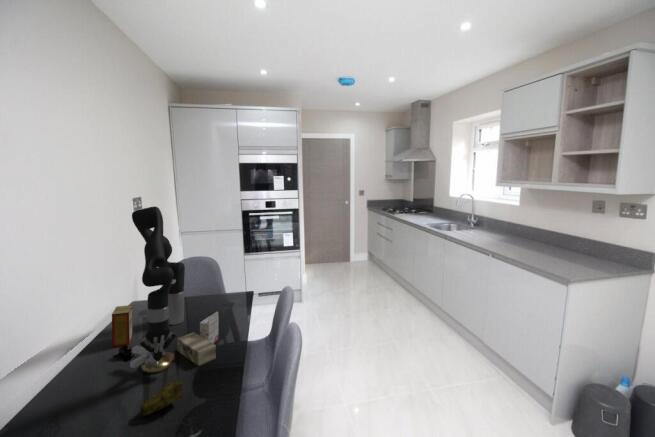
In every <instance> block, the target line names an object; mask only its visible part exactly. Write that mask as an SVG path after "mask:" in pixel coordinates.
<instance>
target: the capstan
mask: <svg viewBox="0 0 655 437" xmlns="http://www.w3.org/2000/svg"><path fill="white" fill-rule="evenodd" d="M165 341H166V340H165ZM165 341H164V343H165ZM171 344H172V342H171V343H170V345H169V346H168V348H169V347H170V346H171ZM150 347H151V348H153V346H150ZM164 350H165V349H163V351H162V358H161V359H160V361H156V360H154V358H153V352H151V353H150V352H148V351H147V350H146V349H145V348H143V347H142V346H141V345H135V346H133V347H131V354H135V355H139V356H137V357H135V358H134V359H132V361H131V360H130V362H129V364H130V365H129V366H130V368H133V369H135V368H137V367H139V366H140V365H141V367H140V368H142V369H141V371H142V370H143V371H144V372H143V371H142V372H143V373H145V372H147V373H146V374H156V373H160V372H163V371H165V370H167V369H168V368H169V367H171V365H172V361H173V360H175V353H173V352H169V351H166V352H165V351H164Z"/></svg>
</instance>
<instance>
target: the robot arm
mask: <svg viewBox="0 0 655 437" xmlns="http://www.w3.org/2000/svg"><path fill="white" fill-rule="evenodd" d="M163 218H164V217H163V214H162V212H161V210H160V208H159V207H158V206H151V207H150V206H149V207H143V208H140V209H136V210H134V211H133V212H131V219H132V223H133V225H134V226H135V228H136V229H137V231H138V233H139V234H140V235H141V236H142V238H143V240H144V242H145V244H144V249H143V252H144V260H145V264H144V269H143V273H142V276H141V281H142V284H143V286H145V287H148V288H150V287H151V288H152V287H159V286H160V288H158V289H156V290H153V291H150V292H149V293H148V295H147V310H146V334H145V337H144V338H143V339H140V340H138V342H139V346H141V347H143V348H145V349H146V350H147V351H148V352H150V353H151V352H153V358H154V360H156V361H160V359H161V358H162V352H164V350H165V349H168V348H169V347H170V346H171V345H170V343H171V344H172V342H173V340H174V339H175V338H176V336H177V335H176V334H175V332H171V330H170V326H174V325H175V326H176V325H178V324H181V323H183V322H184V320H185V318H184V317H185V316H184V314H185V313H184V312H185V311H184V301H185V298H184V296H185V295H184V294H185V293H184V291H185V288H184V287H185V276H186V275H185V271H186V268H185V267H186V266H185V263H183V262H179V261H178V262H176V261H175V262H174V261H173V262H171V261H168V260H169V258H170V257H171V255H172V253H173V247H172V245H171V242H170V240H169V239H168V238H167V237H166V236H165V235H164V219H163ZM152 229H153V230H152ZM173 280H174V281H175V282H174V283H173ZM164 341H165V343H164ZM148 342H149V343H150V344H152V346H150V345H149V344H148ZM169 345H170V346H169ZM168 346H169V347H168ZM151 347H153V348H151ZM163 349H164V350H163Z"/></svg>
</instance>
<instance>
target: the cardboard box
mask: <svg viewBox="0 0 655 437" xmlns="http://www.w3.org/2000/svg"><path fill="white" fill-rule="evenodd" d="M176 343H177V344H176V345H177V350H176V351H177V352H178V353H180V354H181V355H183V356H184V357H185V358H187V359H188V360H190V361H191V362H192V363H194V364H195V365H197V366H198V367H200V366H203V365H204V364H206V363H209V362H211V361H213V360H216V359H217V358H216V357H217V354H216V352H217V351H216V350H217V345H216V344H215V343H211V342H209V341H208V340H206V339H205V338H203V337H201V336H200V334H198V333H196V332H195V331H193V332H190V333H189V334H185V335H182V336H180V337H177V341H176Z"/></svg>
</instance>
